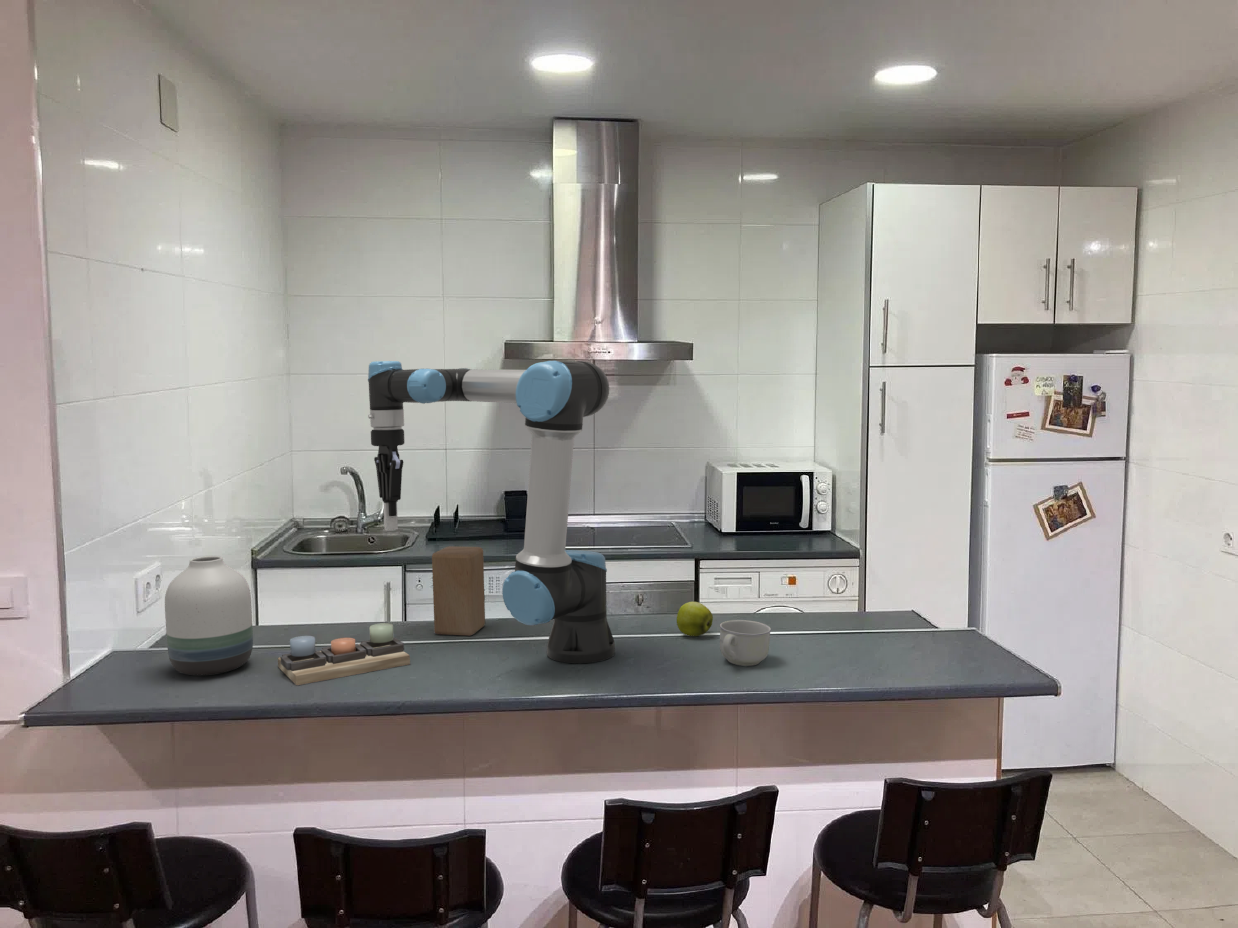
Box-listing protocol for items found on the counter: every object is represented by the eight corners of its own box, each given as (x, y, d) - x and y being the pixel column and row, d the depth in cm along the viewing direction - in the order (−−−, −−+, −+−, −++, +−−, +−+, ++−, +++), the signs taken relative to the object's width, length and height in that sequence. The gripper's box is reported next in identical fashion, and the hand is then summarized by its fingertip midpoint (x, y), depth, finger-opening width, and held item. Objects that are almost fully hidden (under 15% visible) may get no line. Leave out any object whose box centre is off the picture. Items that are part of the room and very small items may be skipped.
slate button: (318, 653, 201) (317, 639, 200) (294, 657, 198) (293, 643, 198) (311, 648, 205) (311, 634, 204) (287, 652, 202) (287, 638, 202)
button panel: (412, 663, 207) (411, 648, 206) (294, 685, 193) (293, 668, 193) (388, 647, 219) (387, 632, 219) (275, 667, 206) (274, 651, 205)
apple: (685, 629, 231) (685, 596, 231) (718, 634, 226) (718, 601, 225) (668, 636, 225) (667, 603, 224) (701, 642, 220) (701, 608, 219)
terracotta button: (358, 655, 205) (358, 641, 205) (335, 659, 203) (334, 645, 202) (351, 649, 210) (350, 636, 209) (328, 653, 207) (328, 640, 207)
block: (472, 636, 227) (470, 553, 225) (433, 635, 229) (430, 552, 227) (486, 625, 237) (484, 546, 235) (448, 624, 239) (445, 545, 237)
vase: (150, 676, 201) (143, 563, 198) (211, 654, 216) (205, 549, 214) (212, 685, 195) (206, 568, 192) (271, 661, 210) (266, 553, 208)
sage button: (396, 640, 210) (396, 626, 210) (374, 644, 207) (373, 630, 207) (388, 635, 214) (388, 622, 214) (366, 638, 211) (366, 625, 211)
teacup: (740, 651, 212) (740, 616, 212) (781, 661, 205) (781, 624, 204) (699, 665, 203) (699, 628, 202) (740, 676, 195) (740, 638, 194)
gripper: (362, 427, 224) (366, 527, 226) (381, 430, 213) (385, 535, 215) (393, 426, 228) (396, 524, 230) (413, 428, 217) (416, 531, 219)
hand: (391, 529), depth 223 cm, fingers closed
